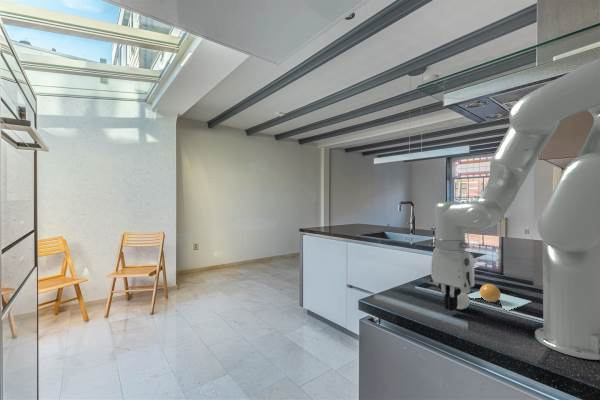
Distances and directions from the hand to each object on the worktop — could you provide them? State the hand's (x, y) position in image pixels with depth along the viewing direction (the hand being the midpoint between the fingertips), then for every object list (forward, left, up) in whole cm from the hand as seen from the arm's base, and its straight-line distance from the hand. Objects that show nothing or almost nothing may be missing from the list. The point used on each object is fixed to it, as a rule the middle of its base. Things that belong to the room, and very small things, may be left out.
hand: (450, 308), depth 82 cm
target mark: (0, -23, -2) cm, 23 cm away
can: (+14, -29, -2) cm, 32 cm away
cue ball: (+1, -6, +1) cm, 6 cm away
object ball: (0, -19, +1) cm, 20 cm away
